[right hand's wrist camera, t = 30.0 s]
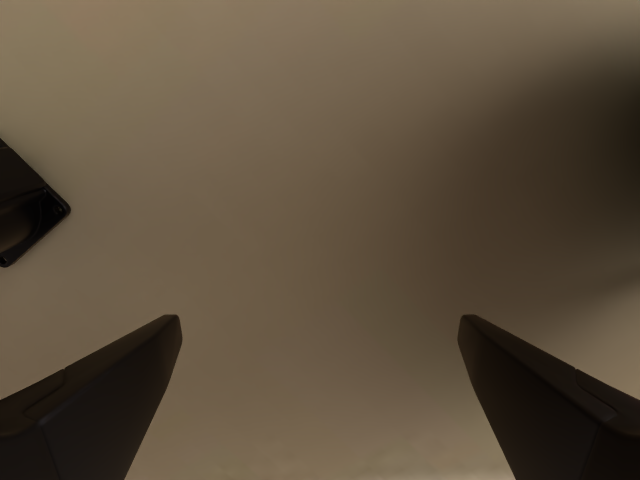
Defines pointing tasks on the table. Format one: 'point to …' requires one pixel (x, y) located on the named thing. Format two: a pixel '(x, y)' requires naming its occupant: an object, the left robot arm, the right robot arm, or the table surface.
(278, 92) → the table surface
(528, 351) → the right robot arm
